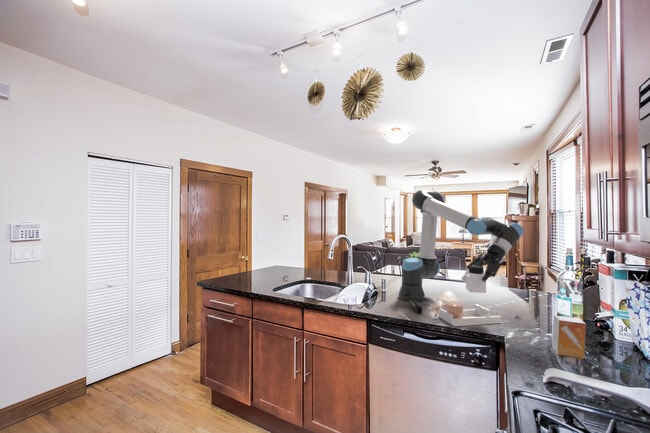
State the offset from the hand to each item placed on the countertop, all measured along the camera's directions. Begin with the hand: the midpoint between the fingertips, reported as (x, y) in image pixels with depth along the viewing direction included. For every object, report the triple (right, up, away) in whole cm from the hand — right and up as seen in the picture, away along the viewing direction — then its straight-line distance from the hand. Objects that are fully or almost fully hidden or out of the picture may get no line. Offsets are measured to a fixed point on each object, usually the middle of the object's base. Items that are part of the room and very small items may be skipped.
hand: (469, 282), depth 145 cm
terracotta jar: (-8, -17, -2) cm, 19 cm away
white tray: (-1, -18, 0) cm, 18 cm away
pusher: (+8, -17, +2) cm, 19 cm away
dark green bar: (-23, -18, +13) cm, 32 cm away
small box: (+21, -20, -32) cm, 43 cm away
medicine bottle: (+3, -4, +1) cm, 5 cm away
